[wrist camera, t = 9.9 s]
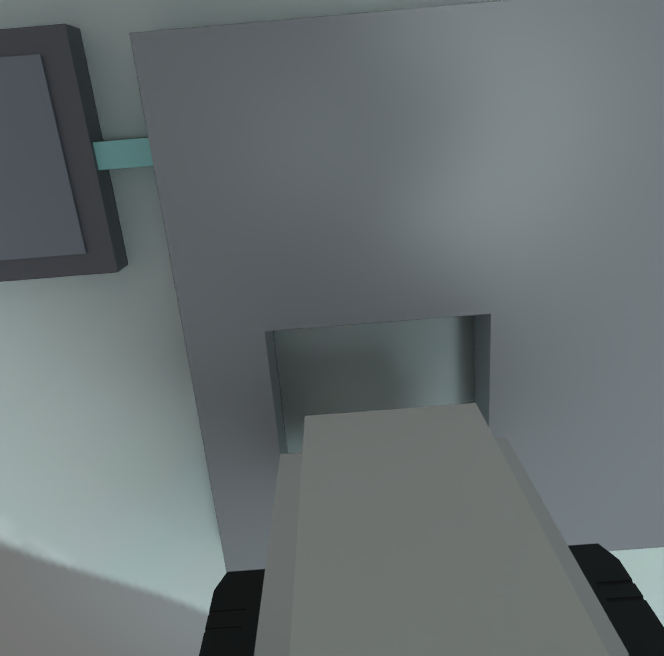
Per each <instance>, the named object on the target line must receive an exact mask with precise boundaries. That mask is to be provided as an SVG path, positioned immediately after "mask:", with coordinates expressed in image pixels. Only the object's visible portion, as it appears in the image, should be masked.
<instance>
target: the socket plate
mask: <svg viewBox="0 0 664 656" xmlns="http://www.w3.org/2000/svg"><path fill="white" fill-rule="evenodd" d="M130 39H131V44H132V50H133V55H134V61H135V67H136V72H137V78H138V83H139V89H140V94H141V100H142V105H143V111H144V116H145V122H146V128H147V133H148V139H149V144H150V150H151V155H152V161H153V166H154V172H155V178H156V183H157V189H158V194H159V200H160V205H161V211H162V216H163V222H164V228H165V233H166V239H167V244H168V250H169V255H170V261H171V266H172V272H173V278H174V283H175V289H176V294H177V300H178V305H179V311H180V316H181V322H182V328H183V333H184V339H185V344H186V350H187V355H188V361H189V366H190V372H191V378H192V383H193V389H194V394H195V400H196V405H197V411H198V416H199V422H200V428H201V433H202V439H203V444H204V450H205V455H206V461H207V466H208V472H209V477H210V483H211V489H212V494H213V500H214V505H215V511H216V516H217V522H218V527H219V533H220V539H221V544H222V550H223V555H224V561H225V566H226V572H230V571H243V570H257V569H265V567H266V559H267V551H268V544H269V536H270V528H271V520H272V513H273V505H274V497H275V490H276V482H277V474H278V466H279V459H280V454H288V452H287V444H286V435H285V427H284V419H283V411H282V403H281V395H280V386H279V378H278V370H277V362H276V354H275V346H274V337H273V331H277V330H290V329H303V328H315V327H328V326H341V325H354V324H366V323H379V322H392V321H405V320H418V319H430V318H443V317H456V316H469V315H475V377H474V403H476V404H477V406H478V408H479V410H480V412H481V414H482V416H483V417H484V419H485V421H486V423H487V425H488V427H489V429H490V431H491V433H492V434H493V436H494V438H502V437H506V438H507V439H508V441H509V443H510V445H511V447H512V448H513V450H514V452H515V454H516V455H517V457H518V459H519V461H520V462H521V464H522V466H523V468H524V470H525V471H526V473H527V475H528V477H529V478H530V480H531V482H532V484H533V485H534V487H535V489H536V491H537V492H538V494H539V496H540V498H541V500H542V501H543V503H544V505H545V507H546V508H547V510H548V512H549V514H550V515H551V517H552V519H553V521H554V523H555V524H556V526H557V528H558V530H559V531H560V533H561V535H562V537H563V538H564V540H565V542H566V544H567V546H568V545H582V544H596V543H598V544H600V545H601V546H602V547H603V548H605V549H606V550H607V551H615V550H629V549H643V548H657V547H664V0H503V1H492V2H480V3H469V4H457V5H446V6H434V7H423V8H411V9H400V10H388V11H377V12H365V13H354V14H342V15H331V16H319V17H308V18H296V19H285V20H273V21H262V22H250V23H239V24H227V25H216V26H204V27H193V28H181V29H170V30H158V31H147V32H135V33H130Z"/></svg>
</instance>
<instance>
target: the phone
mask: <svg viewBox="0 0 664 656" xmlns="http://www.w3.org/2000/svg"><path fill="white" fill-rule="evenodd" d="M144 166H153V161H152V155H151V150H150V144H149V139H148V137H147V138H135V139H123V140H111V141H102V136H101V131H100V126H99V121H98V116H97V112H96V107H95V102H94V97H93V92H92V87H91V83H90V78H89V73H88V68H87V63H86V58H85V54H84V49H83V44H82V39H81V34H80V29H78V28H75V27H72V26H69V25H67V24H57V25H46V26H35V27H23V28H12V29H0V282H2V281H14V280H27V279H39V278H52V277H64V276H77V275H89V274H102V273H114V272H119V271H120V270H121V269H123V268H124V267H125V266H127V265H128V262H127V257H126V252H125V247H124V242H123V237H122V233H121V228H120V223H119V218H118V213H117V208H116V204H115V199H114V194H113V189H112V184H111V179H110V175H109V170H108V169H120V168H132V167H144Z"/></svg>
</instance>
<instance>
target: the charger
mask: <svg viewBox="0 0 664 656" xmlns="http://www.w3.org/2000/svg"><path fill="white" fill-rule="evenodd" d="M289 656H609V654H608V652H607V650H606V648H605V646H604V644H603V642H602V640H601V639H600V637H599V635H598V633H597V631H596V629H595V627H594V625H593V623H592V622H591V620H590V618H589V616H588V614H587V612H586V610H585V608H584V606H583V604H582V603H581V601H580V599H579V597H578V595H577V593H576V591H575V589H574V587H573V586H572V584H571V582H570V580H569V578H568V576H567V574H566V572H565V570H564V569H563V567H562V565H561V563H560V561H559V559H558V557H557V555H556V553H555V552H554V550H553V548H552V546H551V544H550V542H549V540H548V538H547V536H546V535H545V533H544V531H543V529H542V527H541V525H540V523H539V521H538V519H537V518H536V516H535V514H534V512H533V510H532V508H531V506H530V504H529V502H528V501H527V499H526V497H525V495H524V493H523V491H522V489H521V487H520V485H519V484H518V482H517V480H516V478H515V476H514V474H513V472H512V470H511V468H510V467H509V465H508V463H507V461H506V459H505V457H504V455H503V453H502V451H501V450H500V448H499V446H498V444H497V442H496V440H495V438H494V436H493V434H492V433H491V431H490V429H489V427H488V425H487V423H486V421H485V419H484V417H483V416H482V414H481V412H480V410H479V408H478V406H477V404H476V403H467V404H454V405H441V406H428V407H415V408H402V409H389V410H376V411H363V412H349V413H336V414H323V415H310V416H305V418H304V434H303V449H302V465H301V481H300V496H299V512H298V528H297V543H296V559H295V575H294V591H293V606H292V622H291V638H290V653H289Z"/></svg>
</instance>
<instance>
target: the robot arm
mask: <svg viewBox="0 0 664 656" xmlns="http://www.w3.org/2000/svg"><path fill="white" fill-rule="evenodd" d="M495 440H496V442H497V444H498V446H499V448H500V450H501V451H502V453H503V455H504V457H505V459H506V461H507V463H508V465H509V467H510V468H511V470H512V472H513V474H514V476H515V478H516V480H517V482H518V484H519V485H520V487H521V489H522V491H523V493H524V495H525V497H526V499H527V501H528V502H529V504H530V506H531V508H532V510H533V512H534V514H535V516H536V518H537V519H538V521H539V523H540V525H541V527H542V529H543V531H544V533H545V535H546V536H547V538H548V540H549V542H550V544H551V546H552V548H553V550H554V552H555V553H556V555H557V557H558V559H559V561H560V563H561V565H562V567H563V569H564V570H565V572H566V574H567V576H568V578H569V580H570V582H571V584H572V586H573V587H574V589H575V591H576V593H577V595H578V597H579V599H580V601H581V603H582V604H583V606H584V608H585V610H586V612H587V614H588V616H589V618H590V620H591V622H592V623H593V625H594V627H595V629H596V631H597V633H598V635H599V637H600V639H601V640H602V642H603V644H604V646H605V648H606V650H607V652H608V654H609V656H664V627H663V625H662V624H661V622H660V621H659V619H658V618H657V616H656V615H655V613H654V612H653V610H652V609H651V607H650V606H649V604H648V603H647V601H646V600H644V599H643V595H642V594H641V592H640V591H639V589H638V588H637V586H636V585H635V583H634V584H633V582H632V579H631V577H630V576H629V574H628V573H627V571H626V570H625V568H624V567H623V565H622V564H621V562H620V560H619V559H617V558H616V557H615V556H614V555H612V554H611V553H610V552H609V551H607V550H606V549H605V548H603V547H602V546H601V545H600V544H598V543H596V544H582V545H568V546H567V544H566V542H565V540H564V538H563V537H562V535H561V533H560V531H559V530H558V528H557V526H556V524H555V523H554V521H553V519H552V517H551V515H550V514H549V512H548V510H547V508H546V507H545V505H544V503H543V501H542V500H541V498H540V496H539V494H538V492H537V491H536V489H535V487H534V485H533V484H532V482H531V480H530V478H529V477H528V475H527V473H526V471H525V470H524V468H523V466H522V464H521V462H520V461H519V459H518V457H517V455H516V454H515V452H514V450H513V448H512V447H511V445H510V443H509V441H508V439H507V438H506V437H502V438H495ZM301 465H302V453H290V454H280V459H279V466H278V474H277V482H276V490H275V497H274V505H273V513H272V520H271V528H270V536H269V544H268V551H267V559H266V567H265V569H257V570H243V571H230V572H227V573H226V575H225V576H224V577H223V579H222V580H221V582H220V583H219V584H218V586H217V587H216V588H215V590H214V593H213V597H212V602H211V606H210V610H209V615H208V619H207V623H206V628H205V633H204V636H203V641H202V645H201V649H200V654H199V656H289V653H290V638H291V622H292V606H293V591H294V575H295V559H296V543H297V528H298V512H299V496H300V481H301Z"/></svg>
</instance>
